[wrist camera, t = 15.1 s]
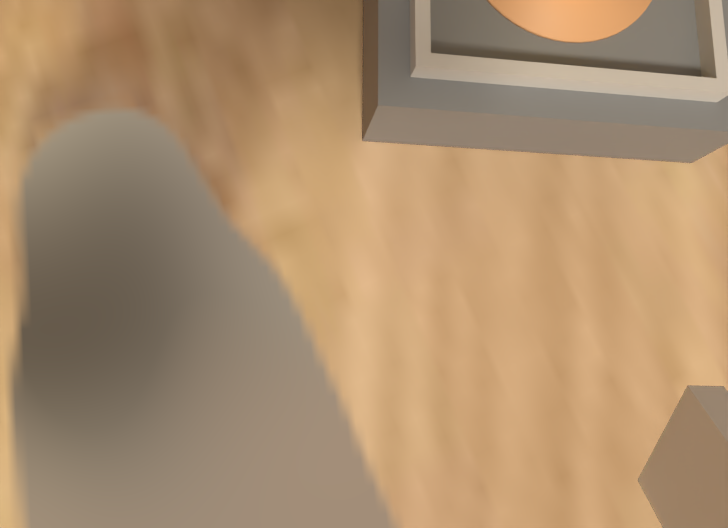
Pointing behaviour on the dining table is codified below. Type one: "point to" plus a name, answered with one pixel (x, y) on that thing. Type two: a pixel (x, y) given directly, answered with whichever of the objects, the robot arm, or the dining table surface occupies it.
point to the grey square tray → (549, 76)
